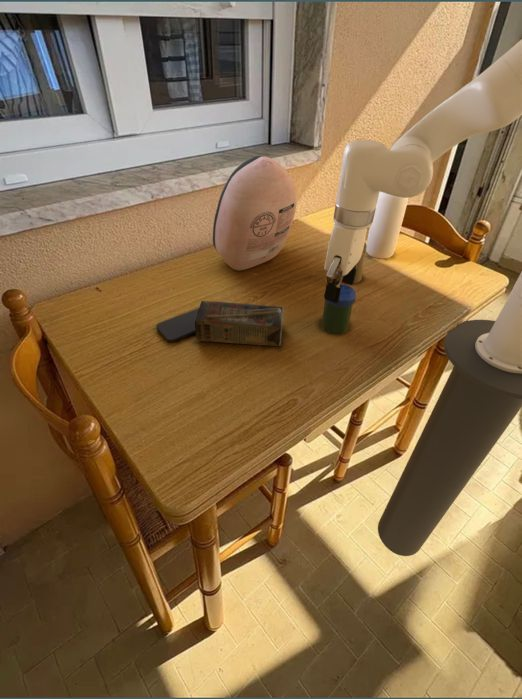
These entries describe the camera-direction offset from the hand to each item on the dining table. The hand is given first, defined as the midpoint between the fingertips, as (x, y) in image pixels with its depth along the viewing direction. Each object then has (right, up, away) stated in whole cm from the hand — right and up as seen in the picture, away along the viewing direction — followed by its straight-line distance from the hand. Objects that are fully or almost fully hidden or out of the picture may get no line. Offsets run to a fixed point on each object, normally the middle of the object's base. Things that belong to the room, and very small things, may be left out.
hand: (339, 291), depth 84 cm
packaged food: (-19, +12, +28) cm, 36 cm away
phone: (-34, -7, +6) cm, 35 cm away
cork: (+8, +7, +23) cm, 25 cm away
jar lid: (0, 0, 0) cm, 1 cm away
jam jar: (0, -7, +6) cm, 9 cm away
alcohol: (+20, +17, +35) cm, 43 cm away
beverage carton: (-22, -10, +3) cm, 24 cm away
